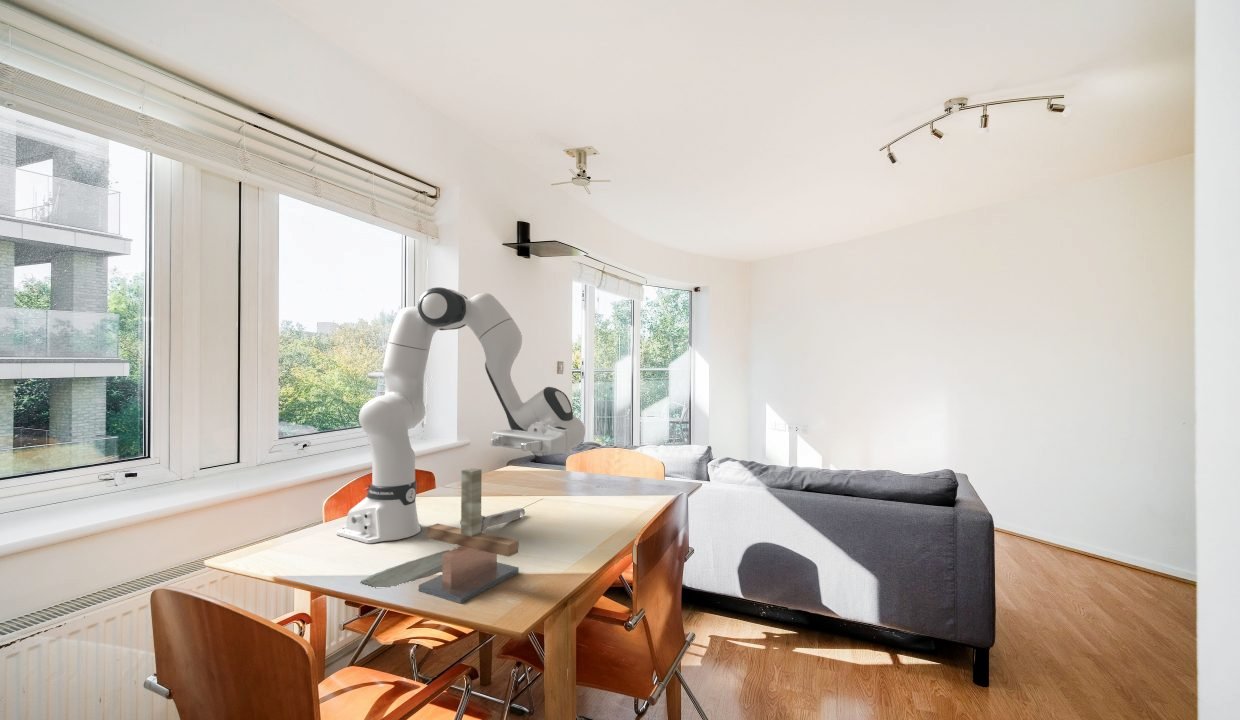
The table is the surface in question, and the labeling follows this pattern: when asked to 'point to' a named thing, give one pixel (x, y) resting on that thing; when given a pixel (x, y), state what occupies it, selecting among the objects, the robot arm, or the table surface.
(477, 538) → the brown t-shaped piece
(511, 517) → the wrench
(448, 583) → the stand
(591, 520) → the table surface
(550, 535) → the table surface
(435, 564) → the stone slab
